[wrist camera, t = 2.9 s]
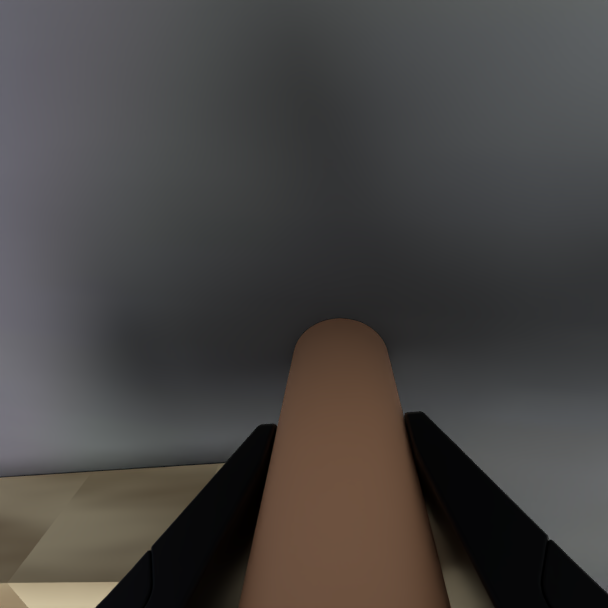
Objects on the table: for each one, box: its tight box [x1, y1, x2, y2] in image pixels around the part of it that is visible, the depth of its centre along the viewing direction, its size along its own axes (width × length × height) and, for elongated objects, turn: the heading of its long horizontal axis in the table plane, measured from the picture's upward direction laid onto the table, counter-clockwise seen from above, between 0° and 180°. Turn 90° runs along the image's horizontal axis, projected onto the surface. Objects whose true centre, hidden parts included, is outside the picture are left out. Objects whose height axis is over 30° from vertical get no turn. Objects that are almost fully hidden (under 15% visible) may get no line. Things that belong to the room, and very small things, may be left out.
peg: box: [238, 318, 451, 608], centre depth 6 cm, size 3×3×10 cm
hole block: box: [0, 463, 225, 608], centre depth 14 cm, size 10×20×4 cm, turn 100°
